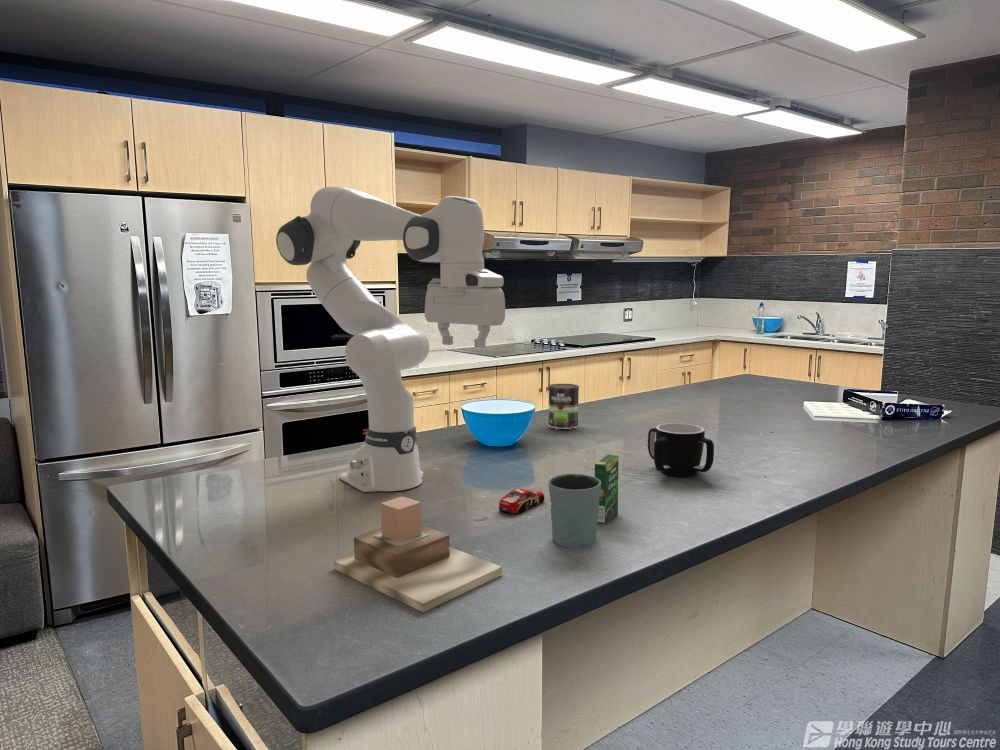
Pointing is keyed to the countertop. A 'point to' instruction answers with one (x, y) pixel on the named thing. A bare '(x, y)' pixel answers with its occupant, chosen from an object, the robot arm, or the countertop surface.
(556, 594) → the countertop surface
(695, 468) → the mug
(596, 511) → the grey green cup
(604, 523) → the coffee box
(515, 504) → the race car
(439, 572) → the build board
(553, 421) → the coffee can
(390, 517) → the terracotta block
